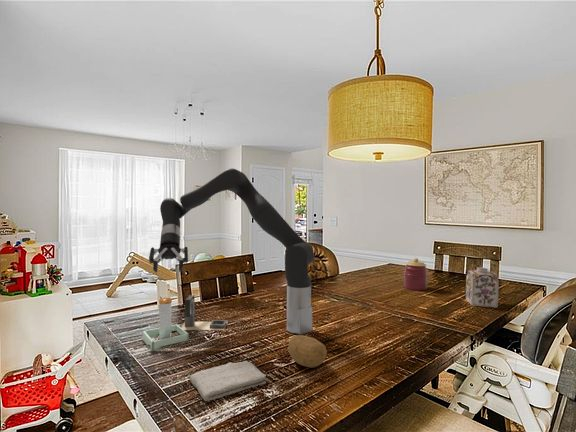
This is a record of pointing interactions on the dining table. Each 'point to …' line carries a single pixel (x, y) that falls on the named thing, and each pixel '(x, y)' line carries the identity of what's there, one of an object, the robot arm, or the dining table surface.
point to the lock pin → (165, 318)
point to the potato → (307, 351)
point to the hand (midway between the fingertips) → (168, 270)
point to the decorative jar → (482, 288)
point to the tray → (156, 345)
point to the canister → (415, 275)
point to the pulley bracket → (193, 325)
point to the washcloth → (227, 379)
